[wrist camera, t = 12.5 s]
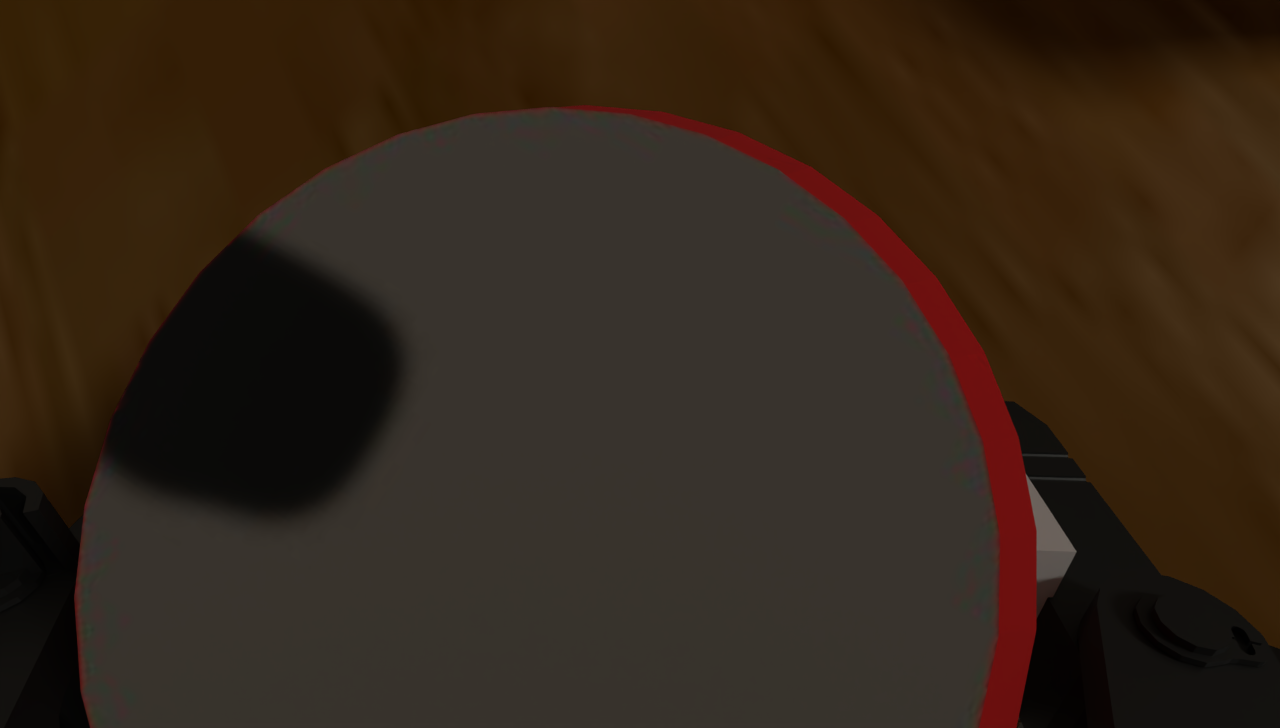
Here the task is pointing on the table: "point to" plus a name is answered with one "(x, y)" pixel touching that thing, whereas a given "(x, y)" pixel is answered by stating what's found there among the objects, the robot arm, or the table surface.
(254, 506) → the soda can
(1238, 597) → the table surface
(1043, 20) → the table surface
